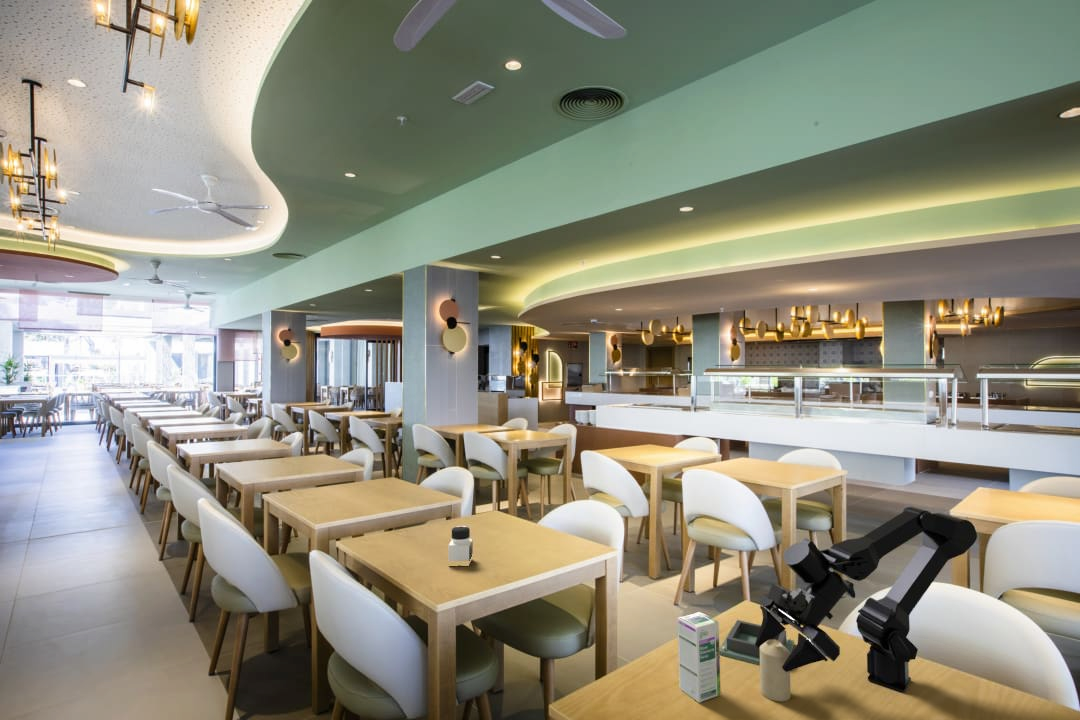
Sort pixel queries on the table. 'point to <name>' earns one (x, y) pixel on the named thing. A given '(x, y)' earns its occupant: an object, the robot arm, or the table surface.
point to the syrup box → (699, 656)
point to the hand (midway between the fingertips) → (769, 657)
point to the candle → (774, 671)
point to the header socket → (748, 642)
